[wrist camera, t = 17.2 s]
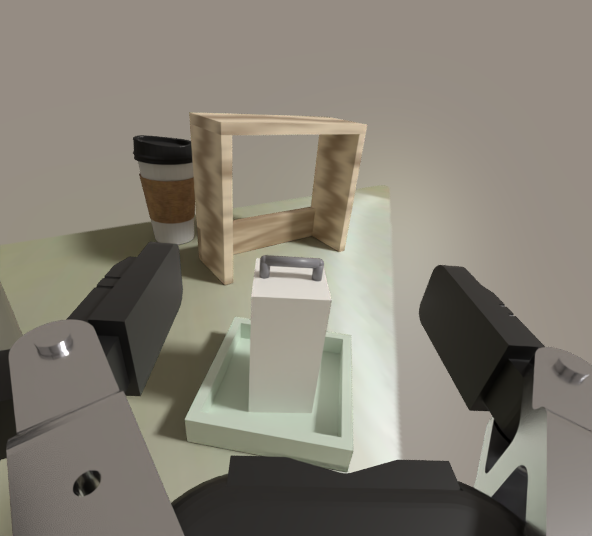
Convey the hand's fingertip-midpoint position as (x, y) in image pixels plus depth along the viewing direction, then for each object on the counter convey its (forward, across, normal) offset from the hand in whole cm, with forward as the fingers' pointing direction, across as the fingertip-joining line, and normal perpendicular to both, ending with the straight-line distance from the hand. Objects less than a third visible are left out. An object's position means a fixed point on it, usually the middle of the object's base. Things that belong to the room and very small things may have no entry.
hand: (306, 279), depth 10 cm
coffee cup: (+39, +17, +19) cm, 47 cm away
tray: (+10, -1, +18) cm, 21 cm away
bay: (+36, 0, +19) cm, 40 cm away
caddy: (+10, 0, +17) cm, 20 cm away
